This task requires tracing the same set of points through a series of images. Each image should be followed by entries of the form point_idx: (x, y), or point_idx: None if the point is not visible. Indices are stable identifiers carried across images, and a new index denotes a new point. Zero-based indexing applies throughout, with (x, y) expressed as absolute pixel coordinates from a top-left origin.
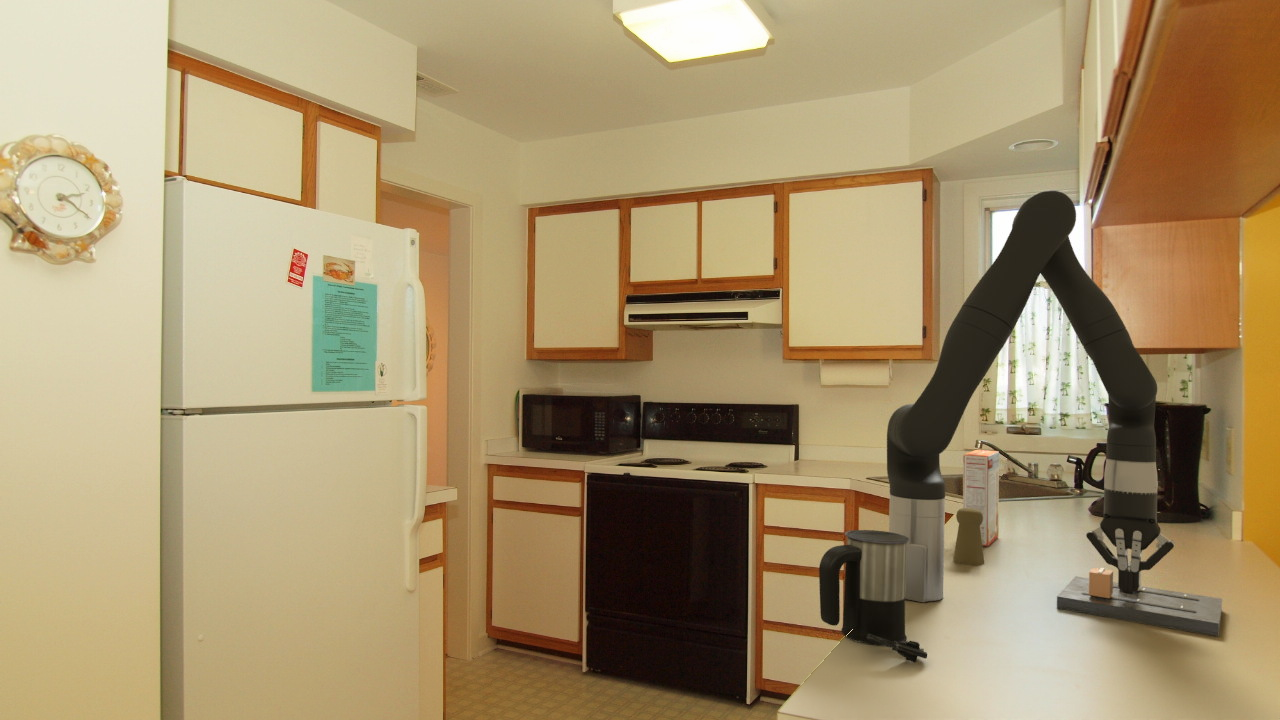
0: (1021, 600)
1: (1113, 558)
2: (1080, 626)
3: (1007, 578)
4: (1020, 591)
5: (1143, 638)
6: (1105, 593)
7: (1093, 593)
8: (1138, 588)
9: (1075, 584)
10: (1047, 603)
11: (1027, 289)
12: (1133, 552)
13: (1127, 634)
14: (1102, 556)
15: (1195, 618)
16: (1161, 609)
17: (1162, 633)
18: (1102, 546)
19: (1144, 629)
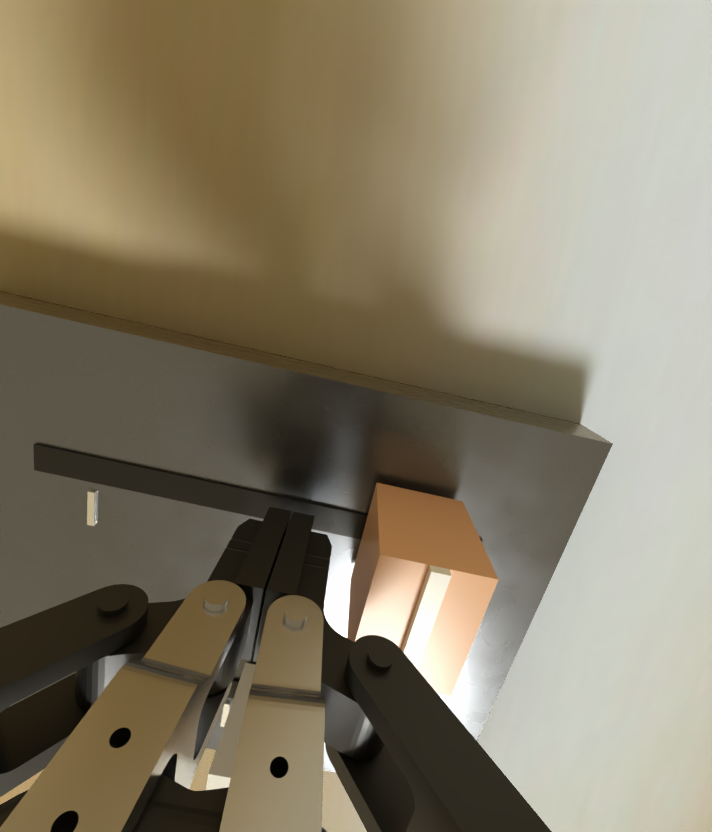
0: (706, 484)
1: (351, 693)
2: (541, 138)
3: (666, 764)
4: (667, 617)
5: (277, 63)
6: (395, 495)
7: (445, 503)
8: (241, 675)
9: (476, 682)
10: (601, 487)
11: None
12: (158, 715)
13: (342, 103)
14: (437, 701)
15: (30, 332)
16: (168, 427)
17: (194, 221)
18: (459, 816)
19: (262, 251)
